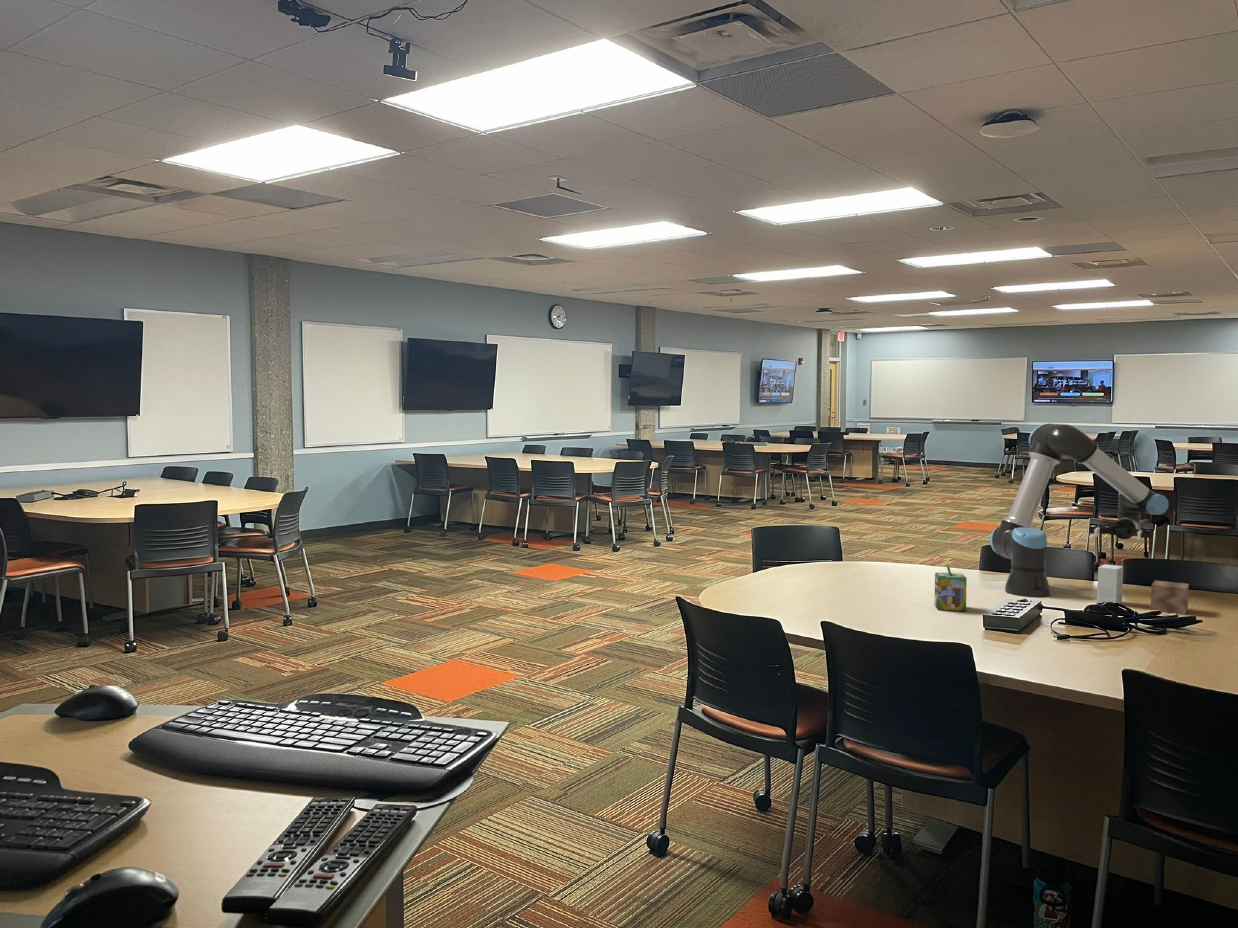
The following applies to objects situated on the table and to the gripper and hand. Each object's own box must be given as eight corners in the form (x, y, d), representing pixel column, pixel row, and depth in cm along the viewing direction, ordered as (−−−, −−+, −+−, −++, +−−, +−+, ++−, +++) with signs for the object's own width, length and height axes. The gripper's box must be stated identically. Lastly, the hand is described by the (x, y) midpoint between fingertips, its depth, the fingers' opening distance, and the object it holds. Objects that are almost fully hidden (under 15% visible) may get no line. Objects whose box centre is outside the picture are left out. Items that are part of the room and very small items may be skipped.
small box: (1102, 600, 323) (1104, 563, 322) (1122, 602, 319) (1123, 566, 318) (1096, 603, 317) (1097, 566, 316) (1116, 606, 312) (1118, 568, 312)
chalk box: (966, 612, 301) (967, 567, 301) (937, 610, 303) (938, 566, 302) (961, 606, 311) (963, 563, 310) (933, 604, 312) (934, 562, 311)
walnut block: (1150, 611, 306) (1151, 584, 305) (1153, 606, 314) (1154, 580, 313) (1185, 615, 300) (1186, 588, 300) (1187, 610, 308) (1188, 583, 308)
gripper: (1163, 541, 334) (1156, 548, 317) (1087, 535, 349) (1077, 542, 332) (1163, 521, 334) (1157, 527, 316) (1088, 516, 348) (1078, 521, 331)
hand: (1116, 534), depth 324 cm, fingers open, 13 cm apart
